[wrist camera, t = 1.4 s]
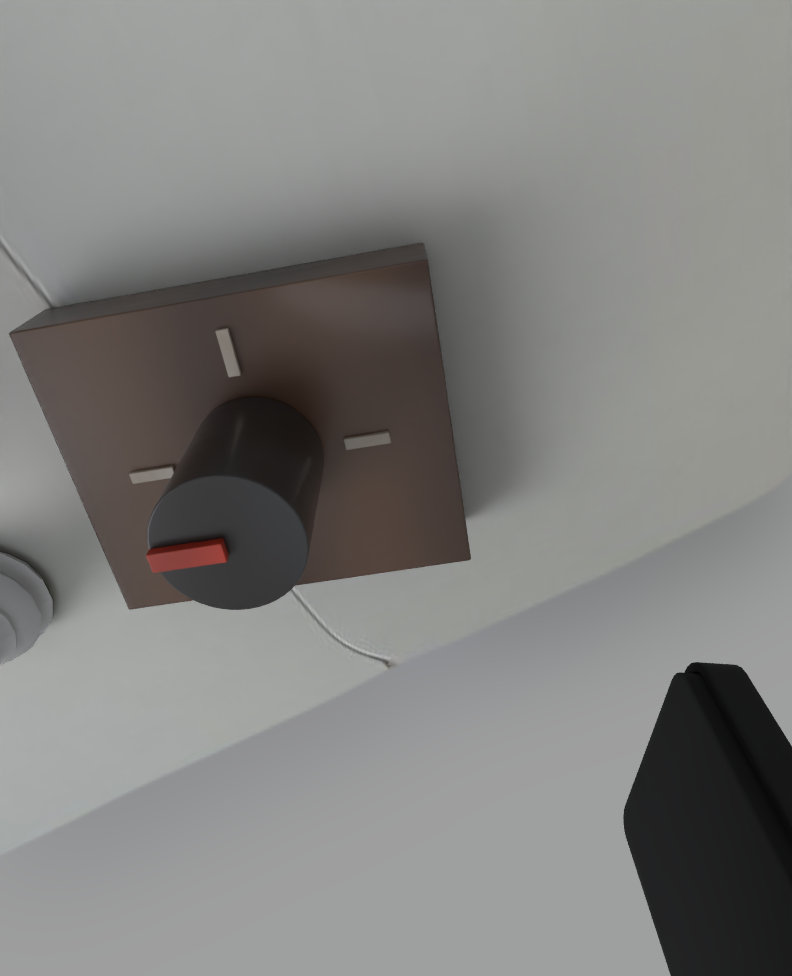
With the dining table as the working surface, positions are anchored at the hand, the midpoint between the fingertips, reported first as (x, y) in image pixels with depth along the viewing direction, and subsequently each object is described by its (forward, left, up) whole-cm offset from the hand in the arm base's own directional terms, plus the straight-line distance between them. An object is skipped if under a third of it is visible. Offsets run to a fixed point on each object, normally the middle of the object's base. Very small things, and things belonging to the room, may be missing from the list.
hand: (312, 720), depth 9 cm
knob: (+3, +2, -13) cm, 14 cm away
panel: (+3, +2, -16) cm, 16 cm away
